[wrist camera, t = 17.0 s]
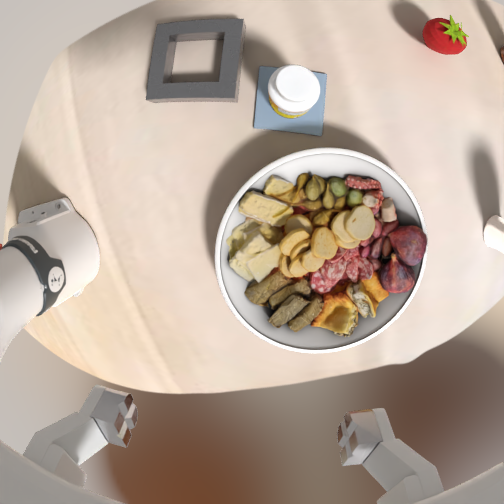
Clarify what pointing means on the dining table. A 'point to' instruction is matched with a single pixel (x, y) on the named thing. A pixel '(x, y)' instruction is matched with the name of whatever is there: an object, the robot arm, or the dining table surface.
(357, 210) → the bowl
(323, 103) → the pad
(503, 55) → the sauce bottle
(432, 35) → the strawberry
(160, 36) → the socket housing
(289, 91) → the supplement bottle
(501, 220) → the beer glass
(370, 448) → the robot arm
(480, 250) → the dining table surface
